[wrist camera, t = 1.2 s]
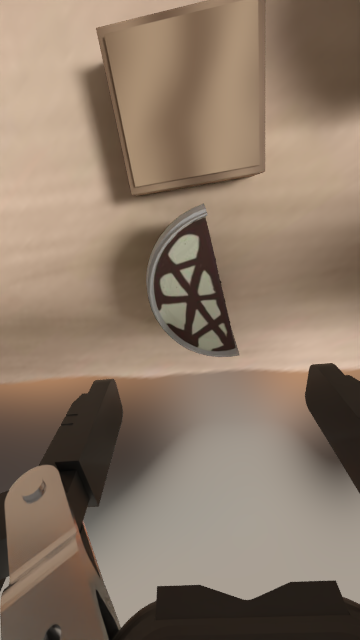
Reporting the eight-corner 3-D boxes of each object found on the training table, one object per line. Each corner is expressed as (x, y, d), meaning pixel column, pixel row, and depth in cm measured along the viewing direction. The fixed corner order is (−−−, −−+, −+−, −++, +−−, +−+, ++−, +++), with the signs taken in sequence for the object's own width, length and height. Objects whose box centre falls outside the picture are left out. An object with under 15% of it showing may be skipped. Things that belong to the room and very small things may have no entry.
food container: (141, 221, 25) (115, 233, 16) (199, 202, 24) (205, 204, 15) (176, 323, 30) (170, 375, 21) (225, 311, 29) (240, 360, 20)
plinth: (250, 26, 19) (266, -18, 15) (253, 175, 23) (266, 171, 19) (112, 59, 20) (94, 25, 16) (140, 195, 24) (130, 194, 20)
